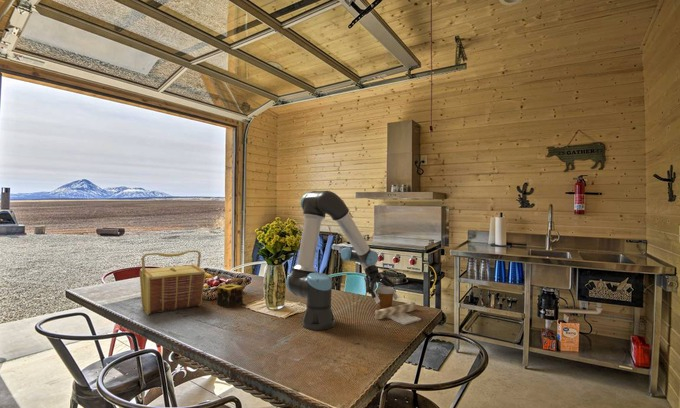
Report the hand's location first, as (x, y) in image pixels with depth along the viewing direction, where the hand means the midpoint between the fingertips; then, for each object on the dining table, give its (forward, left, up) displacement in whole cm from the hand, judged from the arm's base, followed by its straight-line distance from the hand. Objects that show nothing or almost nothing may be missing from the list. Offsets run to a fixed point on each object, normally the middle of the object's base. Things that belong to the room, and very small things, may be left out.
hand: (387, 300), depth 176 cm
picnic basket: (-95, +68, -6) cm, 117 cm away
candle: (-67, +57, -6) cm, 88 cm away
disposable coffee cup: (0, +2, -6) cm, 6 cm away
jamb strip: (0, -6, -6) cm, 8 cm away
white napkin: (-2, -14, -6) cm, 15 cm away
